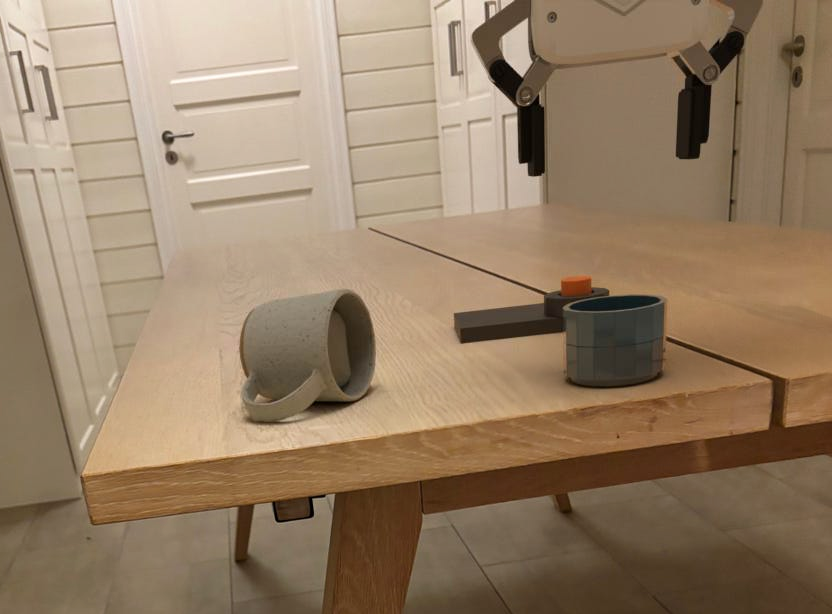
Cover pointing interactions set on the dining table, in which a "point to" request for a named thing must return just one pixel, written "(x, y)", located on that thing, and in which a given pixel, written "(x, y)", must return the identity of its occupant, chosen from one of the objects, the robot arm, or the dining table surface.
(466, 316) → the dark piece
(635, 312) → the bowl
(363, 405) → the dining table surface
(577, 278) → the button
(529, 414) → the dining table surface
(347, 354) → the ceramic mug
